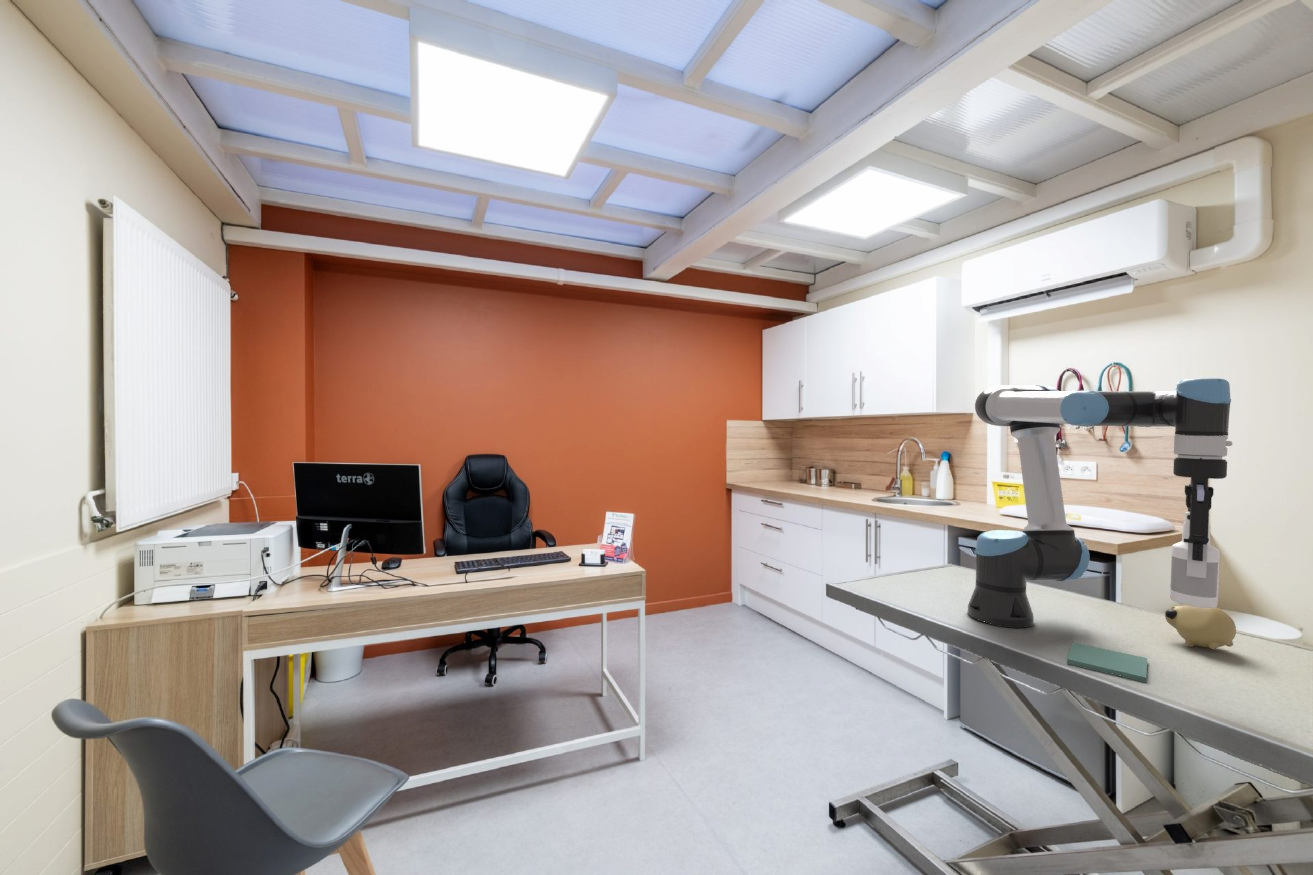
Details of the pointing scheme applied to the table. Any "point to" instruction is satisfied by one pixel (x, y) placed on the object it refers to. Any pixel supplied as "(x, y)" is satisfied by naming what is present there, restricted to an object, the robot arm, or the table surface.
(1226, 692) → the table surface
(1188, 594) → the spray bottle
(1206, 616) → the toy pig
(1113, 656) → the mat
